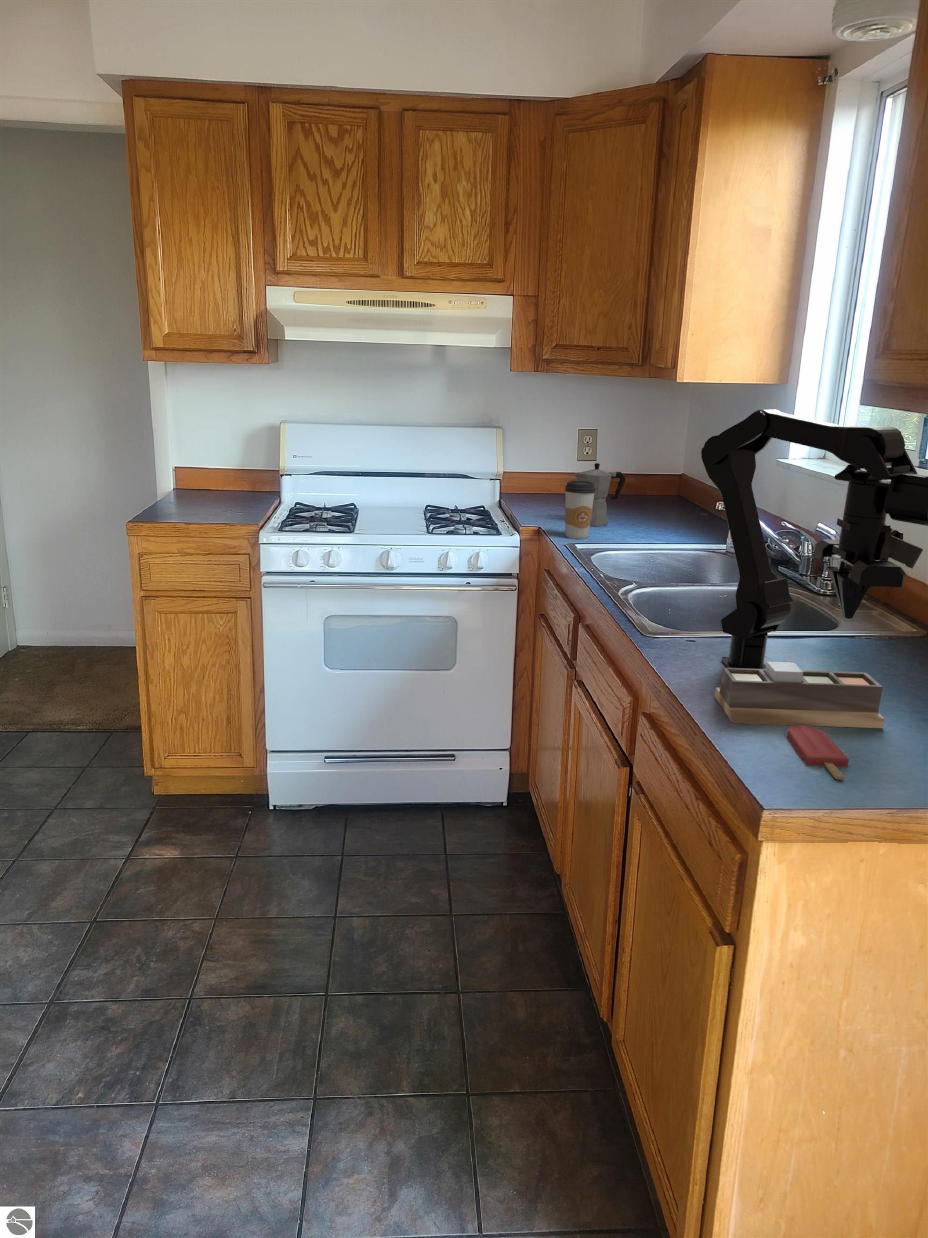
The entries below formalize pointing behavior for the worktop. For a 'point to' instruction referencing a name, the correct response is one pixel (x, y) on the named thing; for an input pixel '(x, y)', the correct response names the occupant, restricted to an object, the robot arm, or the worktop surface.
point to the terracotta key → (853, 680)
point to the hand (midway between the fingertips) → (847, 617)
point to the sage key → (817, 679)
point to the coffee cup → (578, 508)
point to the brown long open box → (801, 700)
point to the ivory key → (746, 677)
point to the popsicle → (817, 749)
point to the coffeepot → (601, 492)
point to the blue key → (783, 672)
